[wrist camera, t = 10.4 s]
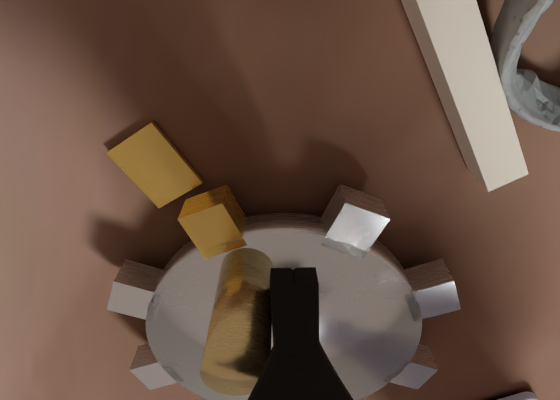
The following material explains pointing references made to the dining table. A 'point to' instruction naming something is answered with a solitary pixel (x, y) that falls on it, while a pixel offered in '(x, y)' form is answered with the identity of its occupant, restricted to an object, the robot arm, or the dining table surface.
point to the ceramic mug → (522, 82)
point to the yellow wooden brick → (155, 165)
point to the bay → (468, 87)
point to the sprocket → (257, 306)
